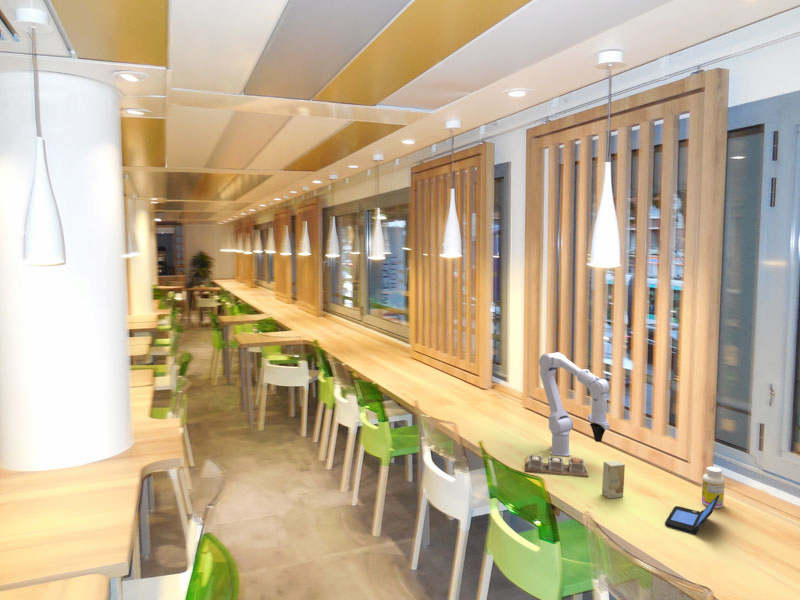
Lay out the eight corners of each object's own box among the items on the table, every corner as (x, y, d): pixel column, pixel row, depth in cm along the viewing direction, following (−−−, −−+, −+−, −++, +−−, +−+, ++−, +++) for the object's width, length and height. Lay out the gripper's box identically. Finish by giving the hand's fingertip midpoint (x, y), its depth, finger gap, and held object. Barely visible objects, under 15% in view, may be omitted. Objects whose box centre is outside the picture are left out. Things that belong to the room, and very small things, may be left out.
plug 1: (531, 464, 230) (531, 456, 229) (539, 464, 229) (539, 456, 229) (531, 466, 227) (531, 458, 226) (539, 467, 226) (539, 459, 226)
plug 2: (551, 465, 228) (551, 457, 228) (559, 466, 227) (559, 458, 227) (552, 468, 225) (552, 460, 225) (559, 469, 224) (559, 460, 224)
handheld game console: (675, 509, 193) (676, 483, 192) (719, 520, 184) (720, 493, 183) (663, 527, 180) (665, 499, 179) (710, 540, 172) (712, 511, 171)
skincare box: (608, 499, 200) (610, 466, 199) (601, 494, 204) (602, 461, 203) (624, 497, 201) (625, 464, 200) (616, 491, 206) (617, 459, 204)
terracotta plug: (572, 465, 226) (572, 457, 226) (579, 466, 225) (580, 458, 225) (572, 468, 223) (572, 460, 223) (580, 469, 222) (580, 460, 222)
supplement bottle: (703, 498, 200) (705, 463, 199) (724, 503, 196) (726, 468, 195) (699, 505, 195) (701, 469, 194) (721, 510, 191) (723, 474, 190)
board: (525, 462, 234) (525, 452, 233) (585, 467, 228) (585, 457, 228) (525, 472, 224) (525, 461, 223) (588, 477, 219) (588, 466, 218)
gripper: (581, 404, 235) (580, 435, 236) (598, 414, 220) (597, 447, 222) (597, 403, 236) (596, 435, 237) (614, 413, 221) (613, 447, 222)
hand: (597, 441), depth 229 cm, fingers closed
